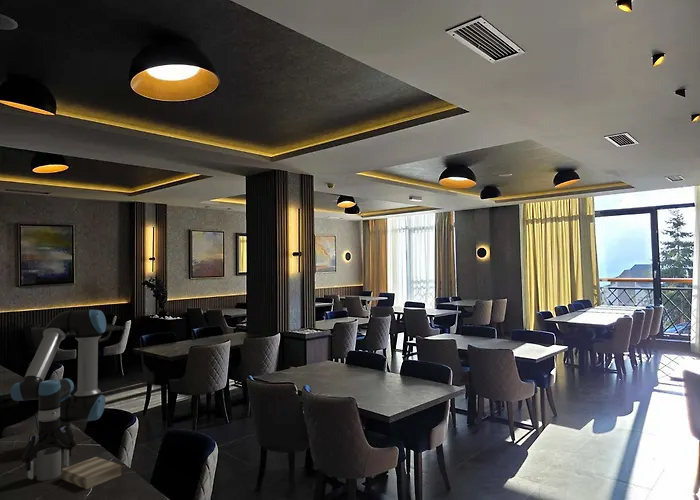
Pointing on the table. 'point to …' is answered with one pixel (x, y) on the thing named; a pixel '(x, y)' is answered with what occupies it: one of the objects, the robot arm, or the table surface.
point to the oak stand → (91, 472)
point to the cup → (48, 463)
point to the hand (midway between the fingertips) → (48, 471)
